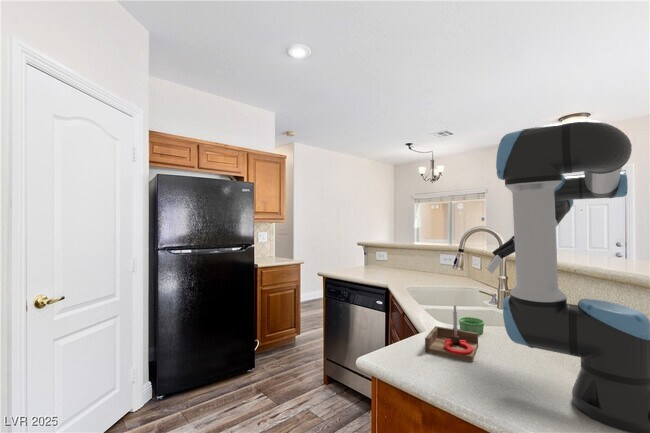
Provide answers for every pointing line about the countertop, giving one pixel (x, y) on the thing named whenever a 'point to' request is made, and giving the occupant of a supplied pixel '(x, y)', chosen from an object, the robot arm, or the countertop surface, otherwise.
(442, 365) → the countertop surface
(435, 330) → the wooden tray
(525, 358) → the countertop surface
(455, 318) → the tow hook
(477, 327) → the ramekin
